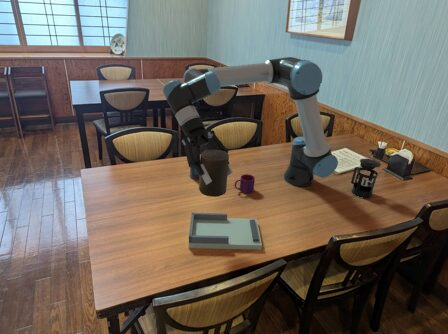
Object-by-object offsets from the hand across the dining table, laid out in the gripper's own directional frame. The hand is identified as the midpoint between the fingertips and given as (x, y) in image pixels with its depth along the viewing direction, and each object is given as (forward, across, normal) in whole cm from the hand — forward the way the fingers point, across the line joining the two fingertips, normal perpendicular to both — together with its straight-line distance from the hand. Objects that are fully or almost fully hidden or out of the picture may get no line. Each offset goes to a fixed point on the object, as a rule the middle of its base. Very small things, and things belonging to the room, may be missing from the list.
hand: (220, 178), depth 104 cm
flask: (-10, -26, -45) cm, 53 cm away
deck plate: (+18, -3, -16) cm, 25 cm away
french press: (+34, -76, 0) cm, 83 cm away
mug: (+6, -34, -29) cm, 45 cm away
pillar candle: (+2, 0, -7) cm, 7 cm away
